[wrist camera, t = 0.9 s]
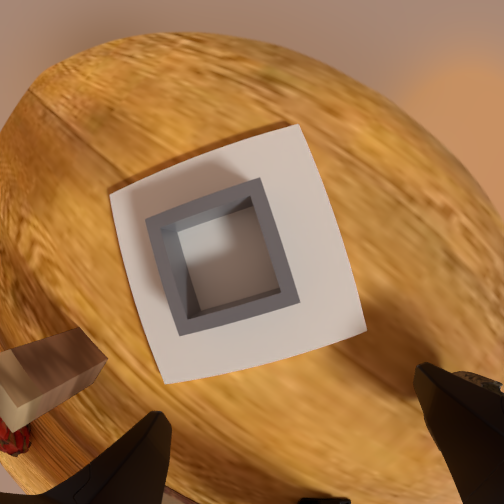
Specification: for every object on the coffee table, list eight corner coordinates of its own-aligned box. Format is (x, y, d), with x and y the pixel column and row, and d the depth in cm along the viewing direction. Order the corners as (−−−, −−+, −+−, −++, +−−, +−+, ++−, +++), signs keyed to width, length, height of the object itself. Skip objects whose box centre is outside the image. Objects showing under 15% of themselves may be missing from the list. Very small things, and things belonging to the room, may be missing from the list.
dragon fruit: (19, 430, 27) (36, 403, 28) (29, 468, 22) (47, 447, 23) (-18, 418, 21) (-7, 387, 22) (-12, 459, 15) (-2, 435, 16)
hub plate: (363, 328, 21) (382, 342, 17) (169, 380, 23) (149, 401, 18) (297, 128, 22) (301, 102, 18) (115, 196, 24) (87, 186, 19)
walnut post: (108, 358, 23) (17, 407, 10) (92, 383, 24) (12, 432, 11) (79, 327, 24) (-16, 357, 11) (66, 353, 24) (-19, 388, 11)
